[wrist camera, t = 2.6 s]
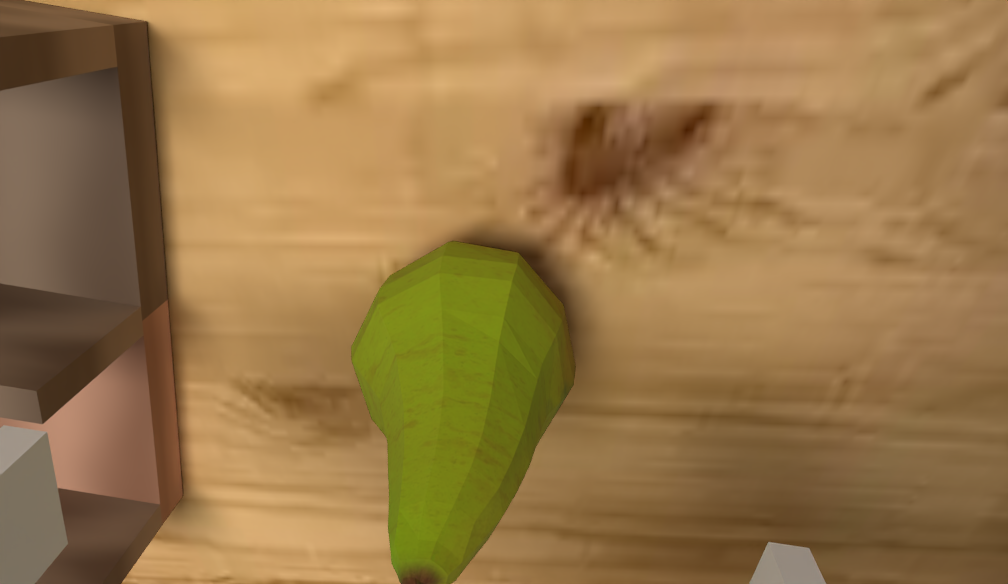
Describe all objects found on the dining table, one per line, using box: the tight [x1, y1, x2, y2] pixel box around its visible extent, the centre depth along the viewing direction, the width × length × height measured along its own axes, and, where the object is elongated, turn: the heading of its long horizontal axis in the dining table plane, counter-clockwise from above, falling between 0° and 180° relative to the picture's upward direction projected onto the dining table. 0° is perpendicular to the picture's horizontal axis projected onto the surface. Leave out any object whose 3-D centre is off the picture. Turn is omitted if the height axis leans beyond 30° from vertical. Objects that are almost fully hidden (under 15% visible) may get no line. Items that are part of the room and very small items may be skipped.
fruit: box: [351, 241, 576, 584], centre depth 16 cm, size 6×6×12 cm
